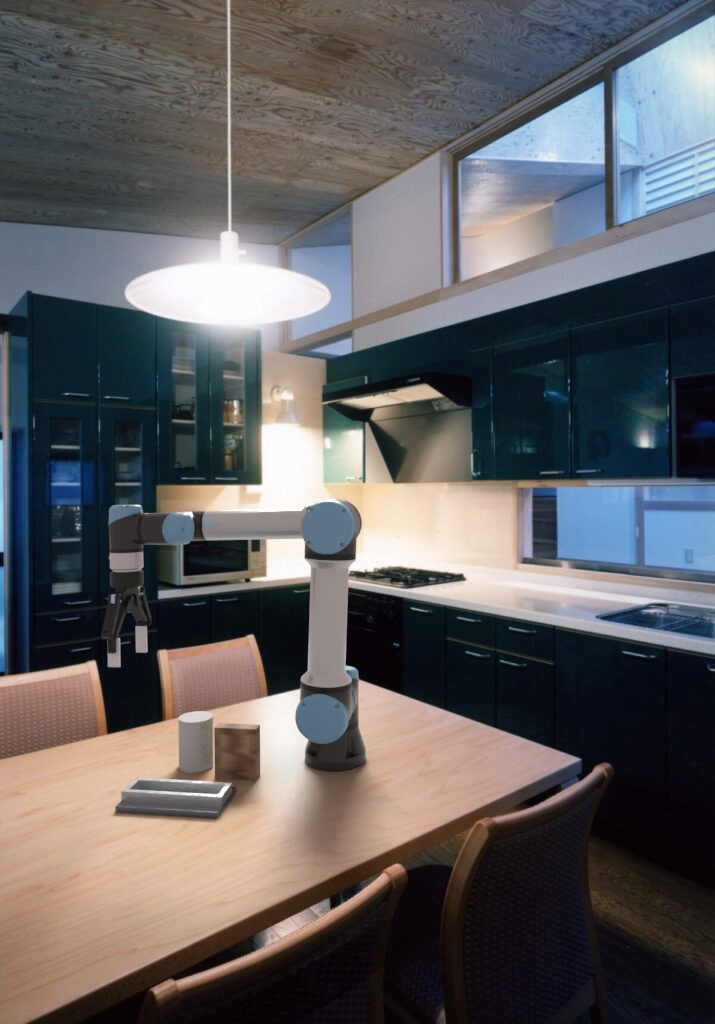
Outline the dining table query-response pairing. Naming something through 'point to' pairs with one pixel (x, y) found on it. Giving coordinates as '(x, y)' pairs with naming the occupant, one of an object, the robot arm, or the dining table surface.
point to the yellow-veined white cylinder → (195, 741)
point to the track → (175, 797)
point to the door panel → (237, 751)
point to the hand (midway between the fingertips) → (128, 659)
